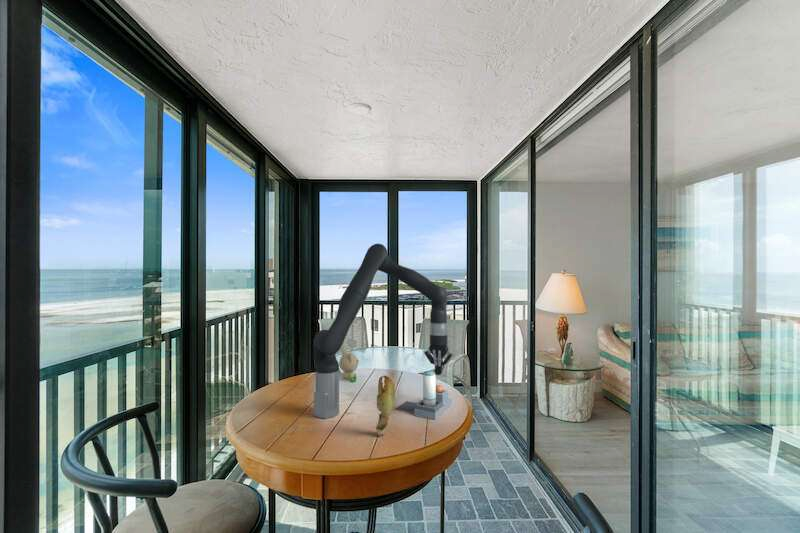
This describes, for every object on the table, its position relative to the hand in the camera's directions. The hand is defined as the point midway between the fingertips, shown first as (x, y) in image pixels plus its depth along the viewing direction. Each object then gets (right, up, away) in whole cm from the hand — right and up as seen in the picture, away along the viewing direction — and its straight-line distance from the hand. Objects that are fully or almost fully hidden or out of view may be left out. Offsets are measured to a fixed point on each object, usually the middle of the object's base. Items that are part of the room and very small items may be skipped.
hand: (438, 374), depth 150 cm
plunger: (0, -8, 0) cm, 8 cm away
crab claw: (-22, -13, -27) cm, 37 cm away
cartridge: (-4, -11, -8) cm, 14 cm away
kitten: (-44, -15, +41) cm, 61 cm away
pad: (-12, -13, -1) cm, 18 cm away
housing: (-3, -13, -5) cm, 14 cm away
